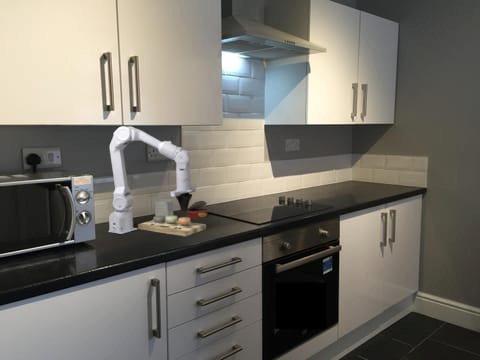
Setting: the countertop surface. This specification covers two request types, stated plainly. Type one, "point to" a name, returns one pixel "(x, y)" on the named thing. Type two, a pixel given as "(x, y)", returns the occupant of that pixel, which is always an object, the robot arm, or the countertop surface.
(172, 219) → the sage button
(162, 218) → the grey button
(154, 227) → the button board
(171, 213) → the medicine box
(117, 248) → the countertop surface
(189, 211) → the canned food
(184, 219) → the terracotta button
